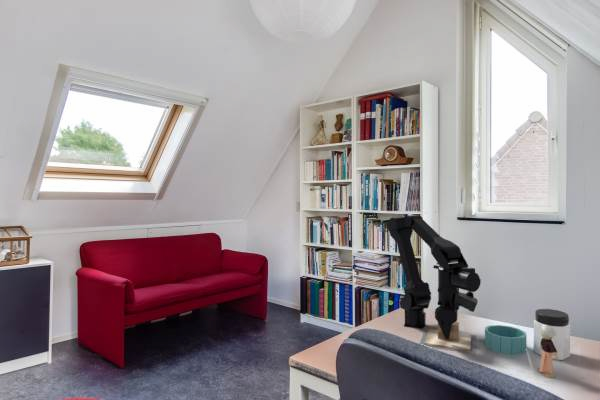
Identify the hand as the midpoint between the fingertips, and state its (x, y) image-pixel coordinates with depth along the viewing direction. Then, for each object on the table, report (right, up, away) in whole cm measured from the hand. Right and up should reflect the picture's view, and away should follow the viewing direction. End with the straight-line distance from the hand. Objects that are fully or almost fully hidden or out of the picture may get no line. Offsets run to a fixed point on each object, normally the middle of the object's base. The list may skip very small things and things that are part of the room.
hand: (448, 333), depth 126 cm
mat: (0, -3, 0) cm, 2 cm away
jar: (+26, -3, -11) cm, 28 cm away
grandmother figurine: (+17, -3, -23) cm, 29 cm away
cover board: (0, -2, 0) cm, 2 cm away
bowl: (+15, -2, -6) cm, 16 cm away
